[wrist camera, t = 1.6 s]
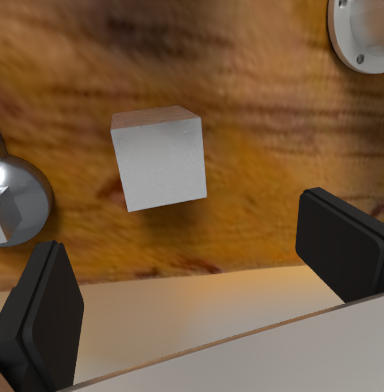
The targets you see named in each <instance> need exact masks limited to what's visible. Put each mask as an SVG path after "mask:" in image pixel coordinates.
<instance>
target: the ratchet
mask: <svg viewBox="0 0 384 392" xmlns="http://www.w3.org/2000/svg"><path fill="white" fill-rule="evenodd" d="M52 206H53V191H52V188H51V185H50V183H49V181H48V179H47V178H46V177H45V175H44V174H43V173H42V172H41V171H40V170H39V169H38V168H37V167H35V166H34V165H33V164H31V163H30V162H28V161H26V160H24V159H22V158H19V157H17V156H13V155H9V154H8V153H7V150H6V148H5V145H4V143H3V140H2V138H1V135H0V247H7V246H14V245H18V244H21V243H23V242H26V241H28V240H30V239H31V238H33V237H34V236H35V235H36V234H37V233H39V231H40V230H41V229H42V227H43V226H44V224H45V222H46V220H47V218H48V216H49V214H50V212H51V209H52Z"/></svg>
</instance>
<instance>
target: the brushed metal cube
mask: <svg viewBox="0 0 384 392" xmlns="http://www.w3.org/2000/svg"><path fill="white" fill-rule="evenodd" d="M110 130H111V135H112V140H113V144H114V149H115V153H116V158H117V162H118V167H119V171H120V176H121V181H122V185H123V190H124V194H125V199H126V203H127V208H128V212H131V211H136V210H141V209H146V208H152V207H157V206H162V205H167V204H173V203H178V202H183V201H188V200H194V199H199V198H204V197H207V193H206V180H205V167H204V153H203V140H202V127H201V117H199V116H197V115H195V114H194V113H192V112H190V111H188V110H186V109H185V108H183V107H181V106H179V105H174V106H166V107H159V108H151V109H143V110H135V111H127V112H119V113H113V117H112V123H111V129H110Z"/></svg>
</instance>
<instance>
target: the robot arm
mask: <svg viewBox="0 0 384 392" xmlns="http://www.w3.org/2000/svg"><path fill="white" fill-rule="evenodd" d="M328 27H329V34H330V39H331V42H332V45H333V47H334V50H335V52H336V53H337V55H338V57H339V58H340V60H341V61H342V62H343V63H344V64H345V65H346V66H347V67H349V68H351V69H353V70H354V71H357V72H360V73H364V74H378V73H384V0H329V5H328ZM295 249H296V253H297V254H298V256H299V257H300V258H301V259H302V260H303V261H304V262H305V263H306V264H307V265H308V266H309V267H310V268H311V269H312V270H313V271H314V272H315V273H316V274H317V275H318V276H319V277H320V278H321V279H322V280H323V281H324V282H325V283H326V284H327V285H328V286H329V287H330V288H331V289H332V290H333V291H334V292H335V293H336V294H337V295H338V296H339V297H340V298H341V299H342V300H343V301H344V302H345V304H342V305H339V306H335V307H331V308H328V309H325V310H321V311H318V312H314V313H310V314H307V315H304V316H300V317H297V318H293V319H290V320H287V321H283V322H280V323H276V324H273V325H270V326H266V327H263V328H259V329H256V330H252V331H249V332H246V333H242V334H239V335H235V336H232V337H229V338H226V339H222V340H219V341H215V342H212V343H209V344H205V345H202V346H198V347H195V348H192V349H188V350H185V351H182V352H178V353H175V354H172V355H168V356H165V357H162V358H158V359H155V360H152V361H148V362H145V363H142V364H139V365H135V366H132V367H129V368H126V369H123V370H120V371H116V372H113V373H110V374H107V375H104V376H101V377H98V378H95V379H91V380H88V381H85V382H82V383H79V384H76V385H73V381H74V374H75V367H76V360H77V353H78V346H79V339H80V333H81V325H82V318H83V312H84V302H83V298H82V295H81V292H80V290H79V287H78V284H77V281H76V278H75V275H74V272H73V270H72V267H71V264H70V261H69V258H68V256H67V253H66V250H65V247H64V245H63V243H57V241H55V240H53V241H48V242H43V243H38V244H37V245H36V246H35V248H34V250H33V252H32V255H31V257H30V259H29V261H28V263H27V265H26V267H25V269H24V271H23V273H22V276H21V278H20V280H19V282H18V284H17V286H16V287H14V288H13V289H12V290H11V292H10V294H9V296H8V298H7V300H6V302H5V304H4V306H3V308H2V310H1V312H0V392H384V223H382V222H380V221H379V220H377V219H375V218H373V217H372V216H370V215H368V214H366V213H365V212H363V211H361V210H359V209H357V208H356V207H354V206H352V205H350V204H349V203H347V202H345V201H343V200H341V199H340V198H338V197H336V196H334V195H333V194H331V193H329V192H327V191H326V190H324V189H322V188H320V187H316V188H311V189H306V190H304V192H303V194H301V195H300V199H299V211H298V222H297V234H296V245H295Z"/></svg>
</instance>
